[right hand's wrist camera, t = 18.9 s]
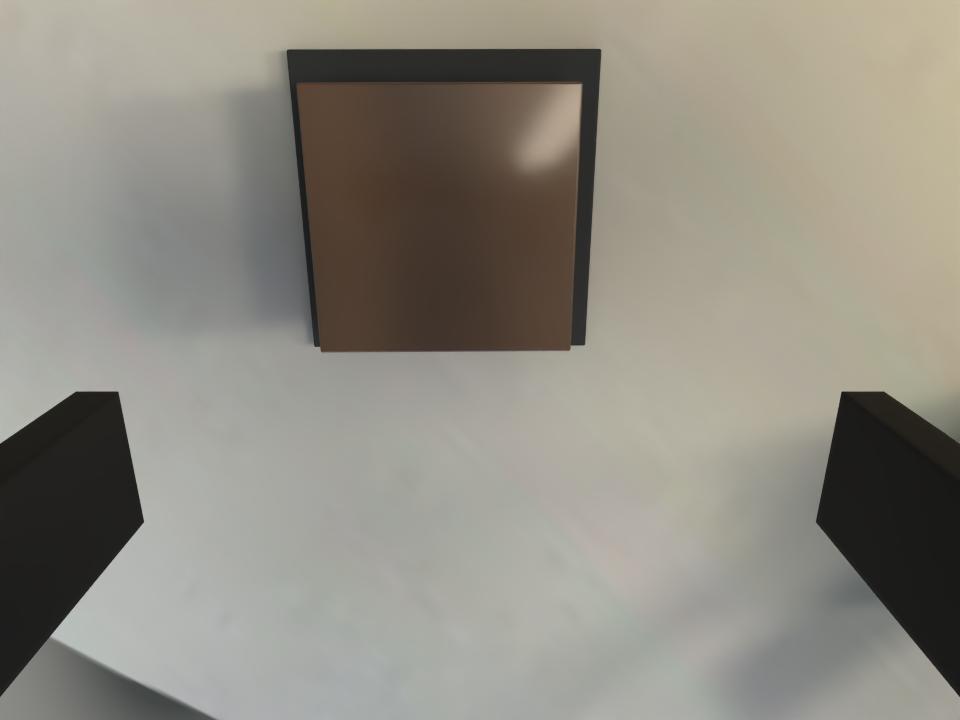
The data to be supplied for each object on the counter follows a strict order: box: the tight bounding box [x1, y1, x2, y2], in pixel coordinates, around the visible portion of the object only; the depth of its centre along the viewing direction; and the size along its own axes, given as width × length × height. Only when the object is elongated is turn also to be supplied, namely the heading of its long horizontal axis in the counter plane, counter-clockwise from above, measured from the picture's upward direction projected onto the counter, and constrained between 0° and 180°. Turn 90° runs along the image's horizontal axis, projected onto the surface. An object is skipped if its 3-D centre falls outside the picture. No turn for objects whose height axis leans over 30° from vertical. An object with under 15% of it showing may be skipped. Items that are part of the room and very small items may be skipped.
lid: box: [297, 82, 583, 352], centre depth 30 cm, size 11×11×5 cm
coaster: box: [287, 49, 601, 347], centre depth 33 cm, size 14×14×1 cm
